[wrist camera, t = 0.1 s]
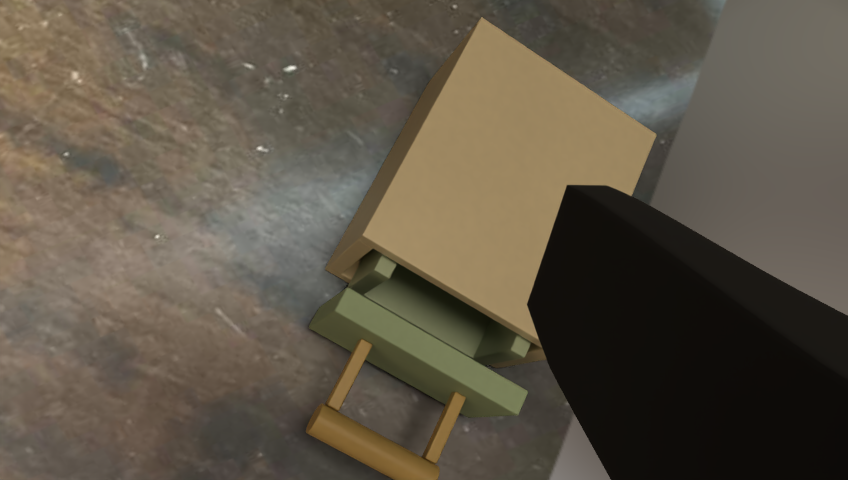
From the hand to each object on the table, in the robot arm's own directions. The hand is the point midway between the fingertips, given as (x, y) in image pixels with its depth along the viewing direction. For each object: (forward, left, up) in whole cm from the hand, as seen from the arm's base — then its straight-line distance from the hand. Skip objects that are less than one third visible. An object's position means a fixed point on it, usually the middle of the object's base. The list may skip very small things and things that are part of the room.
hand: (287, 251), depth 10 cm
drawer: (+3, -12, -29) cm, 31 cm away
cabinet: (+8, -15, -30) cm, 34 cm away
